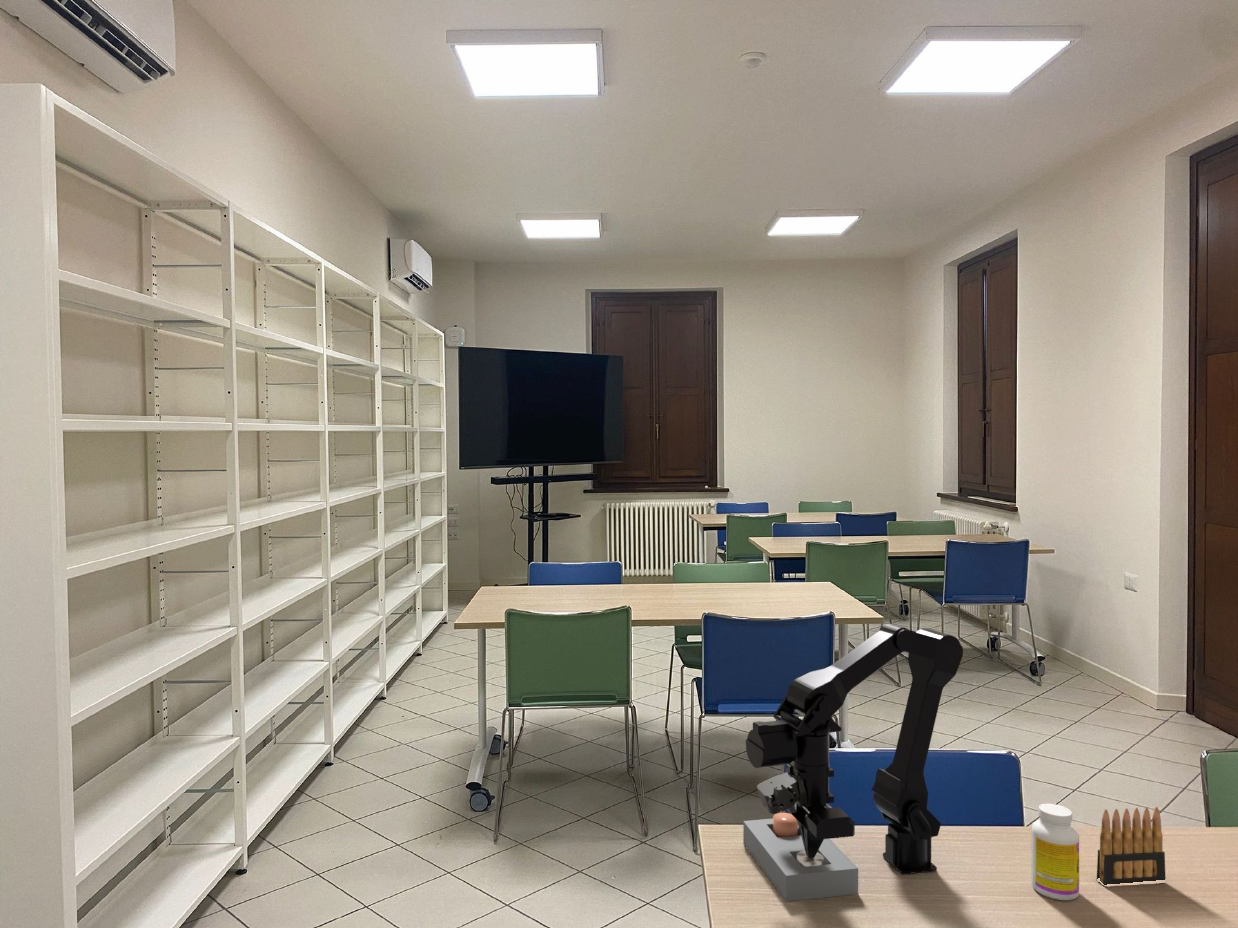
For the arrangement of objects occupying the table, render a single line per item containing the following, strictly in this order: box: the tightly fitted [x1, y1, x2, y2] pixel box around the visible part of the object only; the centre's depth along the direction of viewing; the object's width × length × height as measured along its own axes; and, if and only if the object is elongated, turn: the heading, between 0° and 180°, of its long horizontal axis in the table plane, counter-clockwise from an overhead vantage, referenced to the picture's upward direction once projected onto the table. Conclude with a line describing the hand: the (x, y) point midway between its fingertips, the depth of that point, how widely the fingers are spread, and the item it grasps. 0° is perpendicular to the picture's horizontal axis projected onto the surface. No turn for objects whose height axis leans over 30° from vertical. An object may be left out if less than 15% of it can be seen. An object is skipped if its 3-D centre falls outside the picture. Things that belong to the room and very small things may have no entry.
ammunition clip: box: [1096, 806, 1167, 885], centre depth 129 cm, size 11×2×12 cm, turn 96°
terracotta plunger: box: [772, 812, 798, 838], centre depth 138 cm, size 4×4×3 cm
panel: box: [742, 818, 859, 903], centre depth 134 cm, size 12×19×4 cm, turn 11°
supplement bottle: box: [1030, 803, 1080, 901], centre depth 126 cm, size 7×7×13 cm
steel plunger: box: [797, 850, 824, 867], centre depth 129 cm, size 4×4×3 cm
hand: (810, 856), depth 129 cm, fingers closed, pressing on steel plunger
